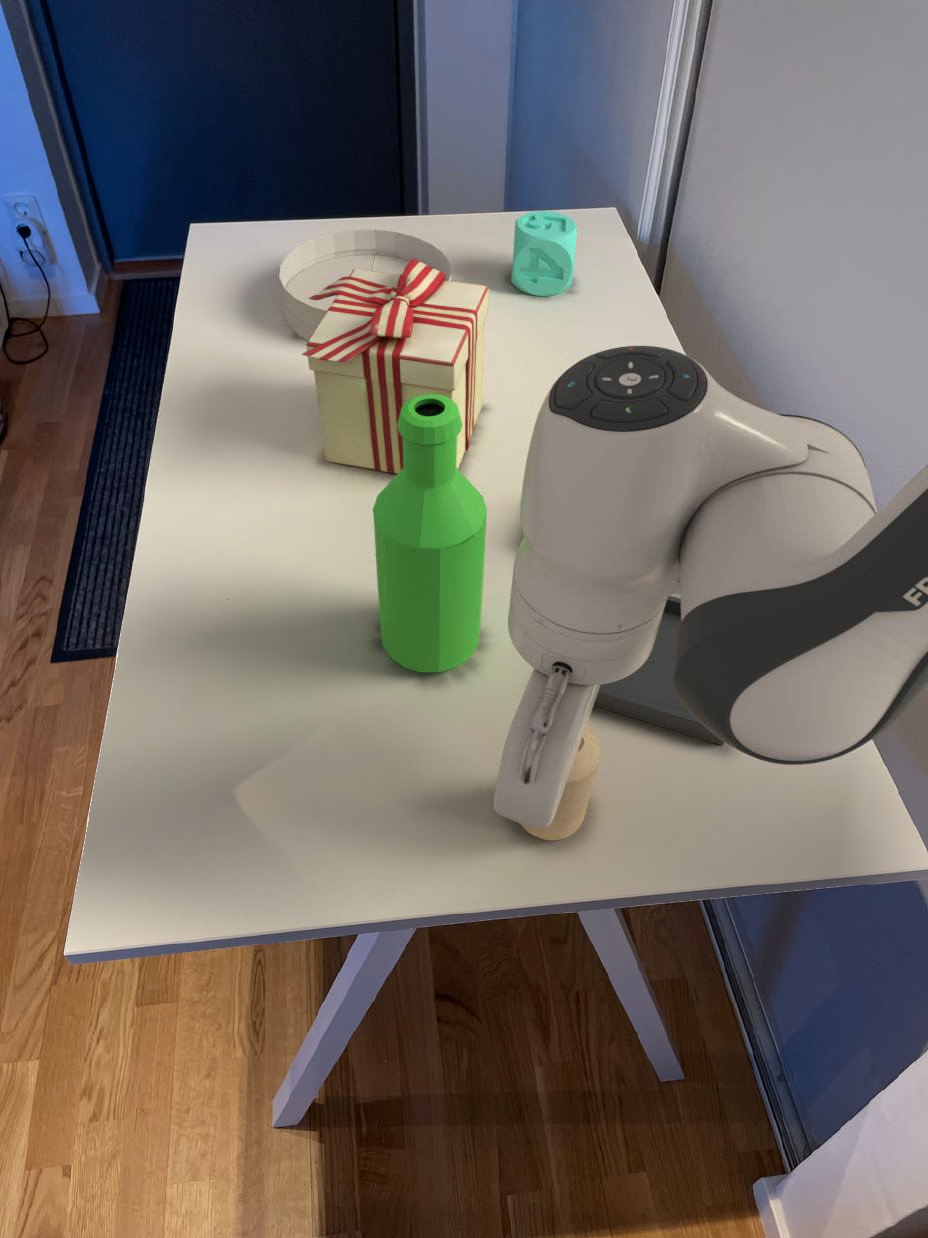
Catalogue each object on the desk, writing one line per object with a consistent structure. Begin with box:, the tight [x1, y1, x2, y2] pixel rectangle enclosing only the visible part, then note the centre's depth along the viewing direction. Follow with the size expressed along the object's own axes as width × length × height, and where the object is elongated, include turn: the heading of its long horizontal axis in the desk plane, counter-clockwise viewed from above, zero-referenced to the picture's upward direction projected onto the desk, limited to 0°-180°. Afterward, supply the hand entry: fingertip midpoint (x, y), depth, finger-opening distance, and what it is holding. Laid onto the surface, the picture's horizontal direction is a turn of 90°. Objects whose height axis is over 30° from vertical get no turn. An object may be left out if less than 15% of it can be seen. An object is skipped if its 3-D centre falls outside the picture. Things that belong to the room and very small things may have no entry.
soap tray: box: [593, 595, 725, 746], centre depth 81 cm, size 13×13×2 cm
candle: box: [519, 726, 601, 841], centre depth 68 cm, size 6×6×10 cm
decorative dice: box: [510, 210, 578, 297], centre depth 122 cm, size 8×8×8 cm
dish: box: [278, 229, 452, 341], centre depth 118 cm, size 22×22×5 cm
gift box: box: [301, 259, 490, 474], centre depth 96 cm, size 17×18×17 cm
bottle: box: [372, 394, 488, 673], centre depth 73 cm, size 9×9×25 cm
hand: (557, 741), depth 64 cm, fingers open, 8 cm apart
